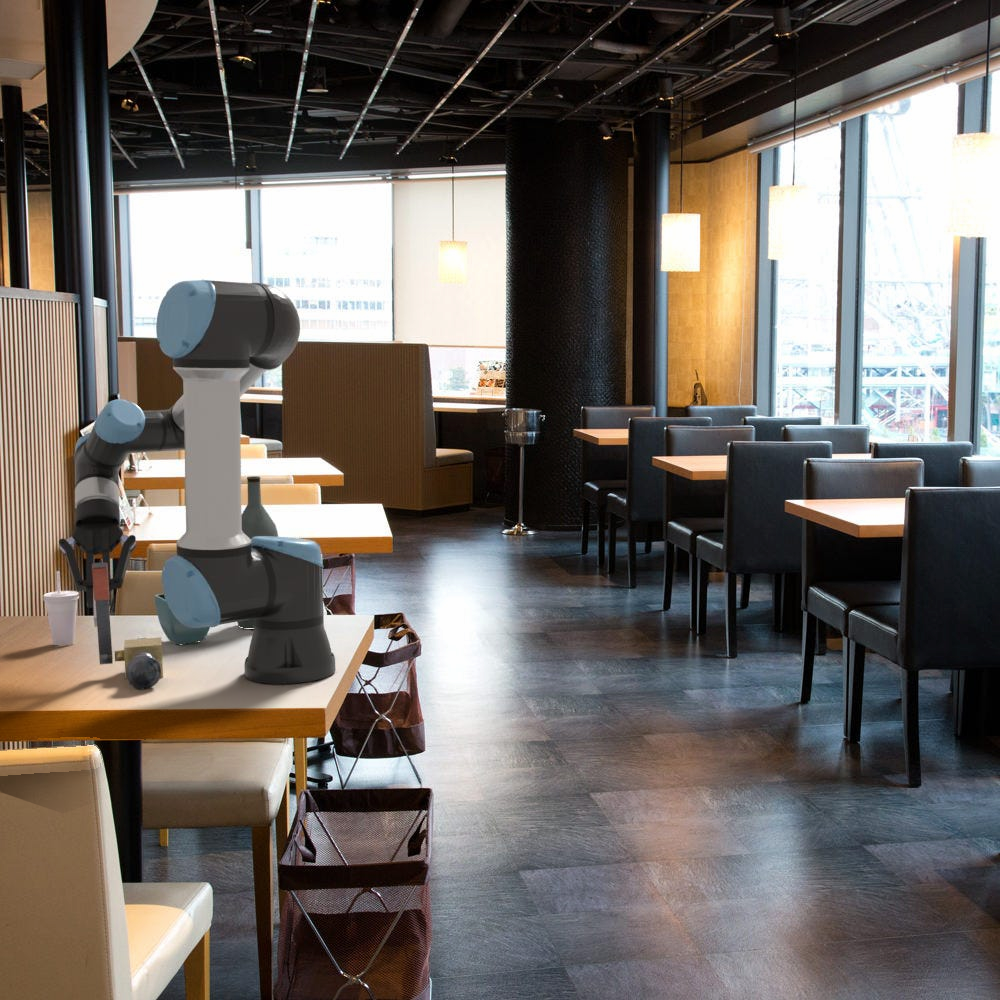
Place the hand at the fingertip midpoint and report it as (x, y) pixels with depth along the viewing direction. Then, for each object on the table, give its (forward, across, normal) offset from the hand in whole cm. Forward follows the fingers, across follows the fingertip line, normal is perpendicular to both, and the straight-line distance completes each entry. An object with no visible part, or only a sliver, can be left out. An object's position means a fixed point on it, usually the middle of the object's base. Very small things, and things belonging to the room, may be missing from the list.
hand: (99, 622), depth 199 cm
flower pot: (-9, -14, -24) cm, 30 cm away
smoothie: (-13, +8, -28) cm, 32 cm away
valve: (+9, -7, -5) cm, 12 cm away
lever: (+4, -1, -6) cm, 7 cm away
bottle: (-16, -29, -31) cm, 46 cm away
